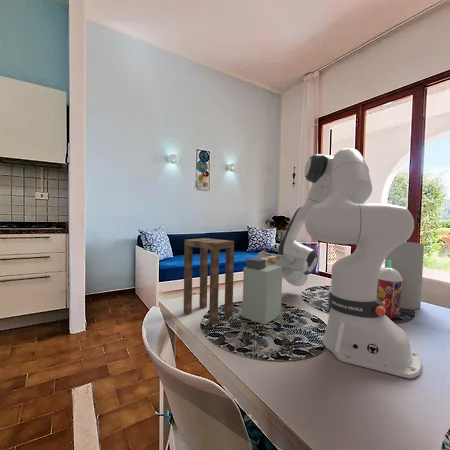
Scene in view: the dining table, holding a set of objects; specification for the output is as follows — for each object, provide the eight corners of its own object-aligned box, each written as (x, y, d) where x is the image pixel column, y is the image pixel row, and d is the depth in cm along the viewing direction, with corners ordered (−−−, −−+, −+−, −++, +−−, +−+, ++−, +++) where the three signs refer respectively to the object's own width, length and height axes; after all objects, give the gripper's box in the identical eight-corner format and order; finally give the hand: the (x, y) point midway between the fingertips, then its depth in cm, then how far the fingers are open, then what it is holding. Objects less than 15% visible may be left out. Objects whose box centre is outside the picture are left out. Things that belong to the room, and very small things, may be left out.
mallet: (270, 261, 101) (270, 253, 100) (282, 262, 98) (282, 255, 97) (246, 267, 87) (246, 259, 87) (259, 270, 84) (259, 261, 84)
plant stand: (232, 315, 90) (234, 241, 89) (213, 324, 82) (215, 243, 81) (203, 305, 99) (204, 237, 97) (183, 313, 91) (184, 239, 90)
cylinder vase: (376, 301, 108) (379, 241, 107) (395, 298, 113) (398, 241, 112) (408, 312, 96) (411, 245, 95) (427, 307, 102) (431, 244, 100)
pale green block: (280, 314, 92) (282, 266, 91) (265, 324, 83) (267, 271, 82) (258, 308, 97) (260, 263, 96) (242, 317, 89) (243, 267, 88)
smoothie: (406, 320, 89) (409, 262, 88) (382, 319, 89) (385, 262, 88) (391, 311, 97) (394, 258, 96) (369, 310, 97) (371, 257, 96)
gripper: (310, 278, 100) (298, 265, 90) (263, 270, 113) (249, 258, 103) (313, 263, 102) (302, 249, 93) (267, 257, 115) (253, 243, 105)
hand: (274, 253), depth 98 cm, fingers open, 8 cm apart
